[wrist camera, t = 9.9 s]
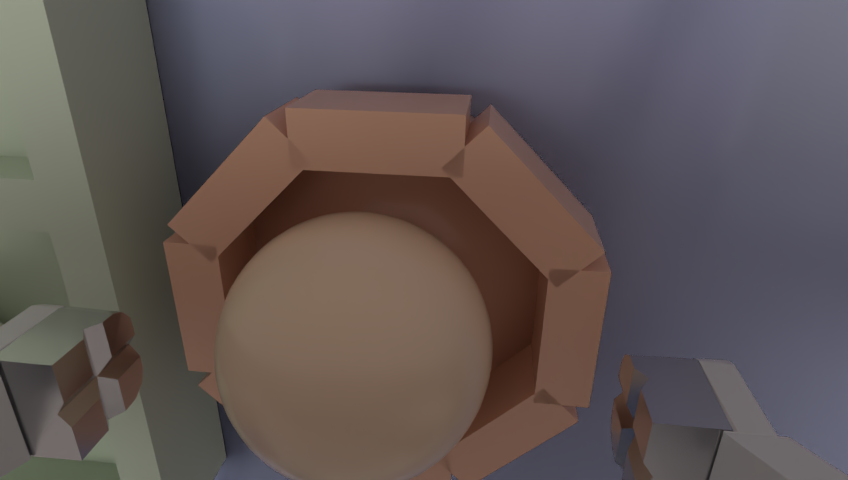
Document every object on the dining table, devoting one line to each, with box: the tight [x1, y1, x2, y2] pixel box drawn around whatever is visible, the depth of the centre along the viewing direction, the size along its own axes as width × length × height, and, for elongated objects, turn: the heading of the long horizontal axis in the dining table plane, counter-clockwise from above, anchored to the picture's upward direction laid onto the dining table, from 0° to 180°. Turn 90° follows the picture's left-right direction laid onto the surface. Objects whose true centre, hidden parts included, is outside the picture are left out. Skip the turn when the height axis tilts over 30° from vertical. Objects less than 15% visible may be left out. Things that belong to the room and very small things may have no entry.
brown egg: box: [214, 211, 492, 480], centre depth 10 cm, size 5×5×5 cm
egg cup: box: [163, 89, 611, 480], centre depth 12 cm, size 8×8×3 cm
